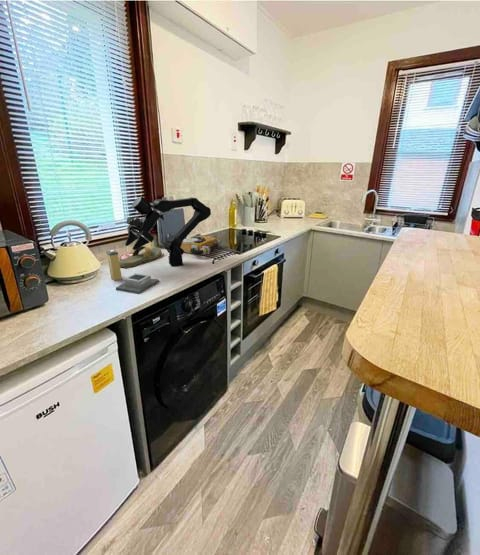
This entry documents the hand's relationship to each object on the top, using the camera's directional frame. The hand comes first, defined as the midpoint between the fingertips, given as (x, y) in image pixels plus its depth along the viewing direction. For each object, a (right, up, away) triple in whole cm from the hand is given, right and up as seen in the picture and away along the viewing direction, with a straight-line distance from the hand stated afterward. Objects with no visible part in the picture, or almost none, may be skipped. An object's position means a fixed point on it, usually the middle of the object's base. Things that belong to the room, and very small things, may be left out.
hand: (129, 247), depth 129 cm
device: (+27, +2, +44) cm, 52 cm away
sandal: (-3, -5, +26) cm, 27 cm away
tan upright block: (-6, -15, 0) cm, 16 cm away
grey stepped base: (+7, -18, -8) cm, 21 cm away
